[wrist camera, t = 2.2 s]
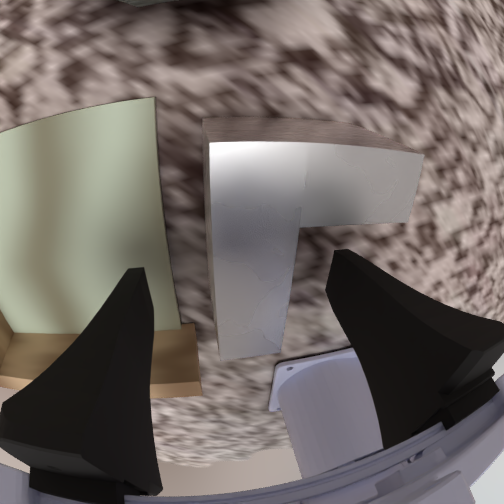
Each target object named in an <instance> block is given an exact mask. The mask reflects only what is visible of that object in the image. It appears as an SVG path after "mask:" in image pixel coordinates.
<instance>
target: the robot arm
mask: <svg viewBox="0 0 504 504" xmlns="http://www.w3.org/2000/svg"><path fill="white" fill-rule="evenodd" d="M325 291H326V293H327V296H328V299H329V302H330V304H331V307H332V309H333V312H334V314H335V316H336V317H337V319H338V321H339V323H340V325H341V327H342V329H343V330H344V332H345V334H346V336H347V338H348V340H349V341H350V343H351V345H352V347H353V348H349V349H345V350H340V351H336V352H332V353H327V354H322V355H318V356H313V357H308V358H303V359H298V360H292V361H287V362H282V363H279V364H278V365H276V367H275V373H274V379H273V384H272V390H271V395H270V401H269V406H268V409H269V411H270V412H275V411H280V410H281V411H282V414H283V417H284V421H285V424H286V427H287V430H288V434H289V437H290V440H291V444H292V447H293V450H294V453H295V456H296V460H297V463H298V466H299V469H300V472H301V476H302V479H301V480H297V481H293V482H289V483H284V484H280V485H275V486H270V487H265V488H259V489H254V490H247V491H241V492H234V493H225V494H215V495H203V496H185V497H184V496H181V497H154V496H157V495H158V494H159V493H160V492H161V491H162V490H163V487H162V483H161V478H160V473H159V468H158V463H157V457H156V450H155V443H154V436H153V427H152V417H151V403H150V378H151V364H152V353H153V342H154V306H153V302H152V298H151V294H150V290H149V286H148V282H147V277H146V273H145V269H144V267H138V268H128V269H127V270H126V272H125V273H124V275H123V276H122V277H121V279H120V280H119V282H118V283H117V285H116V286H115V288H114V289H113V291H112V292H111V294H110V295H109V297H108V298H107V299H106V301H105V302H104V304H103V305H102V307H101V308H100V309H99V311H98V312H97V313H96V315H95V316H94V317H93V319H92V320H91V321H90V323H89V324H88V325H87V327H86V328H85V329H84V330H83V331H82V333H81V334H80V335H79V336H78V337H77V338H76V340H75V341H74V342H73V343H72V344H71V345H70V346H69V347H68V348H67V349H66V350H65V351H64V352H63V353H62V354H61V355H60V356H59V357H58V358H57V359H56V360H55V361H54V362H53V363H52V364H51V365H50V366H49V367H48V368H47V369H46V370H45V371H44V372H42V373H41V374H40V375H39V376H38V377H37V378H35V379H34V380H33V381H32V382H31V383H29V384H28V385H27V386H25V387H24V388H23V389H21V390H20V391H19V392H17V393H16V394H15V395H13V396H12V397H10V398H9V399H7V400H6V401H4V402H3V404H2V408H1V412H0V447H1V448H2V449H3V450H5V451H6V452H8V453H9V454H10V455H12V456H14V457H15V458H17V459H18V460H20V461H22V462H24V463H25V464H27V465H28V466H30V474H29V473H26V472H24V471H21V470H19V469H15V468H13V467H10V466H7V465H4V464H1V463H0V504H475V500H474V497H473V495H472V493H471V490H470V487H471V486H472V485H473V484H474V483H475V482H476V481H477V480H478V479H479V478H480V477H481V476H482V475H483V474H484V472H485V471H486V470H487V469H488V468H489V467H490V466H491V465H492V464H493V462H494V461H495V460H496V459H497V458H498V457H499V455H500V454H501V453H502V452H503V450H504V374H503V375H502V376H501V377H499V378H498V379H497V380H496V381H495V382H494V380H493V379H492V377H493V376H494V374H495V372H494V370H493V369H492V366H493V365H494V364H495V362H497V360H498V359H499V358H500V357H501V355H502V354H503V353H504V324H503V323H502V322H500V321H496V320H491V319H487V318H483V317H479V316H476V315H472V314H469V313H466V312H463V311H460V310H458V309H455V308H452V307H450V306H448V305H445V304H443V303H440V302H438V301H436V300H434V299H432V298H430V297H428V296H426V295H424V294H422V293H420V292H418V291H416V290H414V289H413V288H411V287H409V286H408V285H406V284H404V283H402V282H401V281H399V280H397V279H396V278H394V277H393V276H391V275H389V274H388V273H386V272H385V271H383V270H382V269H380V268H378V267H377V266H375V265H374V264H372V263H371V262H369V261H368V260H366V259H364V258H363V257H361V256H360V255H358V254H356V253H354V252H353V251H351V250H349V249H343V250H334V255H333V259H332V264H331V268H330V272H329V277H328V281H327V285H326V289H325ZM140 495H141V496H140ZM150 496H151V497H150Z"/></svg>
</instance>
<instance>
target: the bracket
mask: <svg viewBox="0 0 504 504" xmlns="http://www.w3.org/2000/svg"><path fill="white" fill-rule="evenodd" d="M202 151H203V185H204V209H205V229H206V246H207V262H208V276H209V286H210V294H211V301H212V308H213V316H214V323H215V329H216V336H217V343H218V349H219V355H220V361H222V360H230V359H239V358H246V357H254V356H261V355H267V354H274V353H280V352H281V346H282V341H283V335H284V329H285V323H286V317H287V311H288V304H289V298H290V292H291V285H292V278H293V271H294V264H295V257H296V250H297V243H298V235H299V228H303V227H320V226H339V225H358V224H380V223H403V222H408V220H409V216H410V213H411V209H412V206H413V202H414V198H415V194H416V190H417V186H418V182H419V177H420V173H421V169H422V164H423V159H424V154H422V153H420V152H418V151H416V150H414V149H411V148H409V147H407V146H405V145H403V144H400V143H398V142H396V141H394V140H391V139H389V138H387V137H384V136H382V135H379V134H377V133H374V132H372V131H369V130H367V129H364V128H362V127H359V126H356V125H354V124H351V123H345V122H336V121H326V120H315V119H301V118H282V117H207V118H202Z"/></svg>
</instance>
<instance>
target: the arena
mask: <svg viewBox="0 0 504 504" xmlns="http://www.w3.org/2000/svg"><path fill="white" fill-rule="evenodd" d="M138 267H144V269H145V273H146V277H147V282H148V286H149V290H150V294H151V298H152V302H153V306H154V342H153V353H152V364H151V378H150V398H174V397H189V396H201V395H203V394H202V386H201V377H200V367H199V358H198V347H197V338H196V331H195V325H194V323H188V324H181V320H180V315H179V309H178V304H177V298H176V293H175V287H174V281H173V275H172V269H171V262H170V256H169V249H168V242H167V234H166V227H165V219H164V210H163V201H162V192H161V182H160V170H159V158H158V144H157V126H156V101H155V97H151V98H142V99H135V100H128V101H121V102H115V103H109V104H104V105H98V106H93V107H88V108H84V109H79V110H75V111H70V112H66V113H62V114H58V115H55V116H51V117H47V118H44V119H40V120H37V121H34V122H30V123H27V124H24V125H21V126H18V127H15V128H12V129H10V130H7V131H4V132H1V133H0V387H4V388H10V389H16V390H21V389H23V388H24V387H25V386H27V385H28V384H29V383H31V382H32V381H33V380H34V379H35V378H37V377H38V376H39V375H40V374H41V373H42V372H44V371H45V370H46V369H47V368H48V367H49V366H50V365H51V364H52V363H53V362H54V361H55V360H56V359H57V358H58V357H59V356H60V355H61V354H62V353H63V352H64V351H65V350H66V349H67V348H68V347H69V346H70V345H71V344H72V343H73V342H74V341H75V340H76V338H77V337H78V336H79V335H80V334H81V333H82V331H83V330H84V329H85V328H86V327H87V325H88V324H89V323H90V321H91V320H92V319H93V317H94V316H95V315H96V313H97V312H98V311H99V309H100V308H101V307H102V305H103V304H104V302H105V301H106V299H107V298H108V297H109V295H110V294H111V292H112V291H113V289H114V288H115V286H116V285H117V283H118V282H119V280H120V279H121V277H122V276H123V275H124V273H125V272H126V270H127V269H128V268H138Z"/></svg>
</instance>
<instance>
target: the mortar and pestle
mask: <svg viewBox="0 0 504 504" xmlns="http://www.w3.org/2000/svg"><path fill="white" fill-rule="evenodd" d="M118 1H121V2H124V3H127V4H130V5H133V6H136V7H142V6H147V5H152V4H157V3H163V2H170V1H177V0H118Z"/></svg>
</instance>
